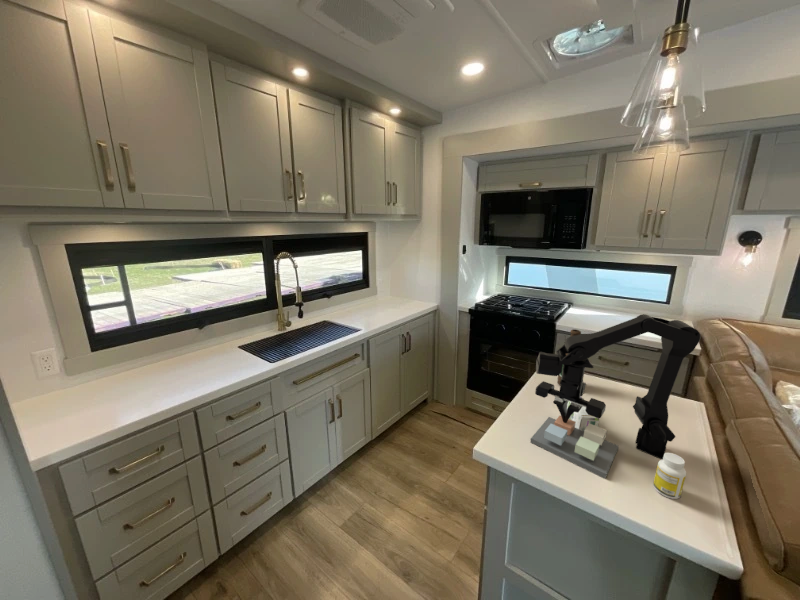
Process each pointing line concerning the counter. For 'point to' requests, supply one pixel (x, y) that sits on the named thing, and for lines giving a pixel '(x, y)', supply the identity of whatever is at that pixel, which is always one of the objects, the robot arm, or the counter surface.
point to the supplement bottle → (670, 476)
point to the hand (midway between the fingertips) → (565, 422)
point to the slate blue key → (555, 434)
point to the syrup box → (582, 418)
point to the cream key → (595, 433)
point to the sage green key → (587, 448)
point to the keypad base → (567, 452)
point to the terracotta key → (565, 425)
